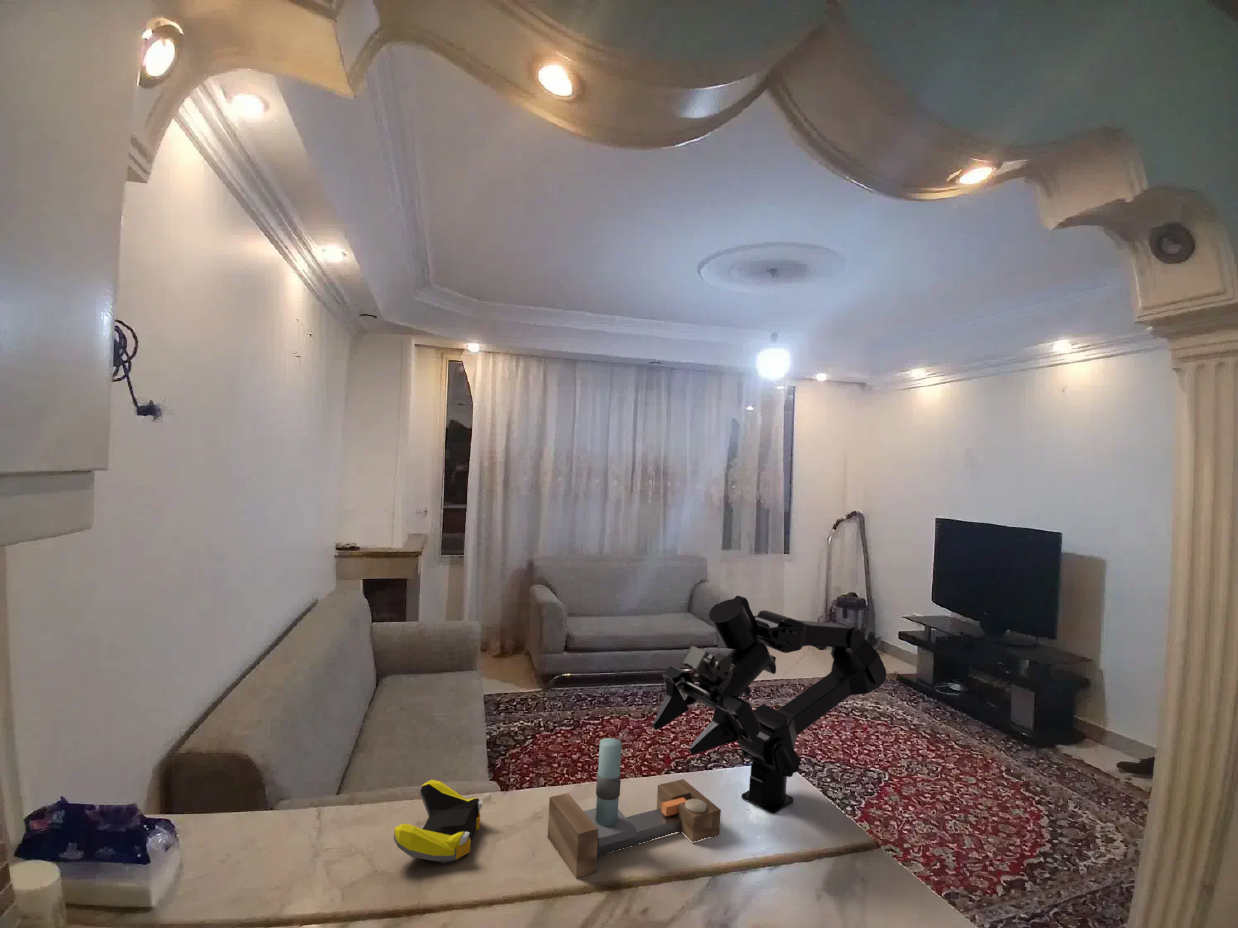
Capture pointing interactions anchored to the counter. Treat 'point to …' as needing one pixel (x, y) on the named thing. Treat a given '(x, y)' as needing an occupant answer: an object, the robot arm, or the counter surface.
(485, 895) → the counter surface
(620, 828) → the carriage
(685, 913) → the counter surface
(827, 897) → the counter surface
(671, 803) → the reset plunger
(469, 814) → the gaming controller
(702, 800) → the end cabinet
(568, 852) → the end cabinet
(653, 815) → the track
